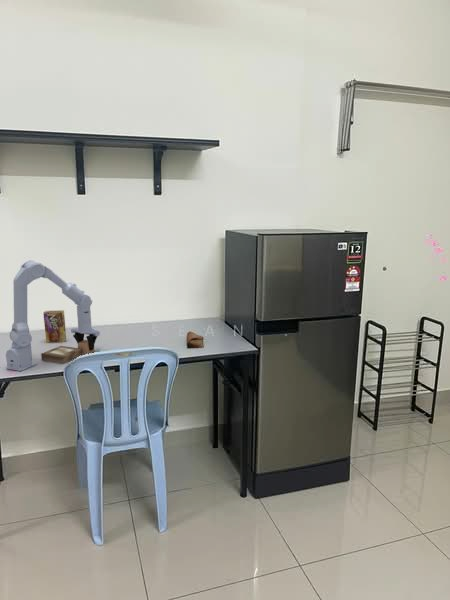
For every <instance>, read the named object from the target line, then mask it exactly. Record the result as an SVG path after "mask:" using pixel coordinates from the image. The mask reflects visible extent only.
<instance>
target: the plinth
mask: <svg viewBox="0 0 450 600" xmlns="http://www.w3.org/2000/svg"><path fill="white" fill-rule="evenodd" d="M40 355H41V361H43V362H44V361H45V362H49V363H56V364H62V365H64V364H67V363H69V362H71V361H73V360H75V359H74V358H76V357H78V356H80V355H82V356H83V355H84V354H82V349H80V348H78V347H71V346H66V345H64V346H63V345H59V346H56V347H55V348H51V349H49V350H47V351H44V352H42V353H40ZM80 357H81V356H80ZM78 358H79V357H78ZM72 359H73V360H72ZM76 359H77V358H76Z"/></svg>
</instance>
